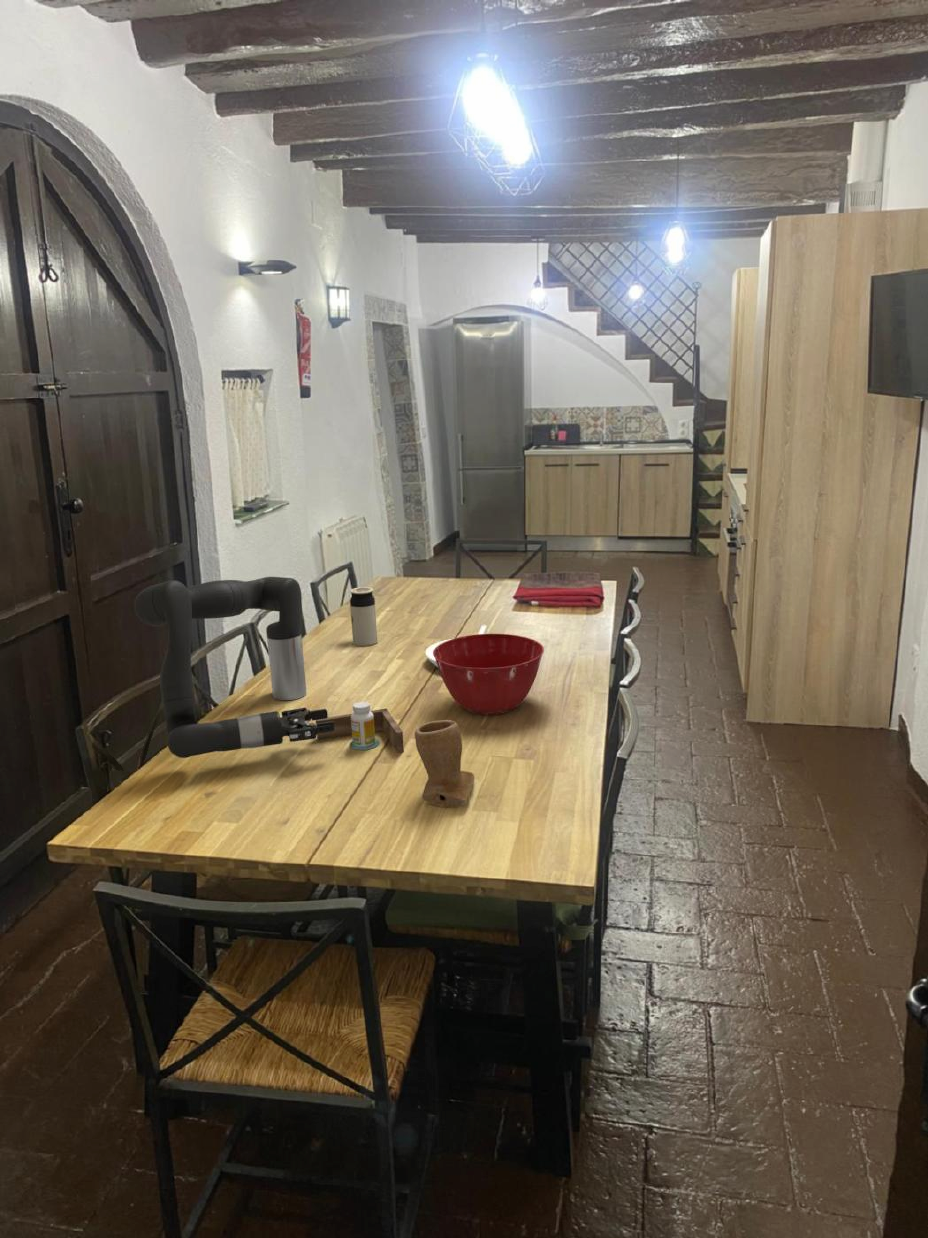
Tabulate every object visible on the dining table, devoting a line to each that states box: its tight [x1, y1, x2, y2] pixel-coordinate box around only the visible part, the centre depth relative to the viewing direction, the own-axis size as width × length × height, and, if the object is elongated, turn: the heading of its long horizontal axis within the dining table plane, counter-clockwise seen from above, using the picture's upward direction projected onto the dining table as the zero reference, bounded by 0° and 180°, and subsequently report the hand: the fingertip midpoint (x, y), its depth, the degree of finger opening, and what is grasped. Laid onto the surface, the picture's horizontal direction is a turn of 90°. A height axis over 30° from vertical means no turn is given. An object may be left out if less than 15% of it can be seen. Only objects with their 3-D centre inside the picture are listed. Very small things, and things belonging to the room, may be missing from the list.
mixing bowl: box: [433, 633, 545, 715], centre depth 232 cm, size 28×28×16 cm
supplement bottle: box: [351, 701, 376, 747], centre depth 211 cm, size 5×5×10 cm
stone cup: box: [414, 719, 475, 808], centre depth 184 cm, size 15×12×15 cm
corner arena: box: [315, 708, 405, 754], centre depth 211 cm, size 16×18×5 cm
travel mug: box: [349, 586, 378, 647], centre depth 290 cm, size 8×8×18 cm
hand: (330, 719), depth 208 cm, fingers open, 8 cm apart
